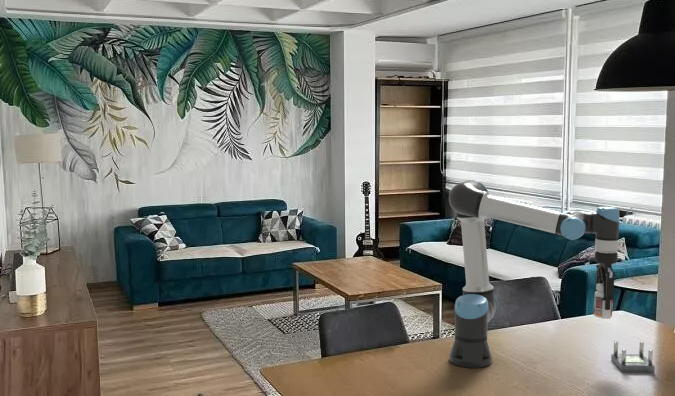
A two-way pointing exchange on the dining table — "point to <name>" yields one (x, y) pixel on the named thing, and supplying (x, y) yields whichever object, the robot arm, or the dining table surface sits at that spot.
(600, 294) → the pill bottle
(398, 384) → the dining table surface
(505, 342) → the dining table surface
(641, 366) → the chassis
